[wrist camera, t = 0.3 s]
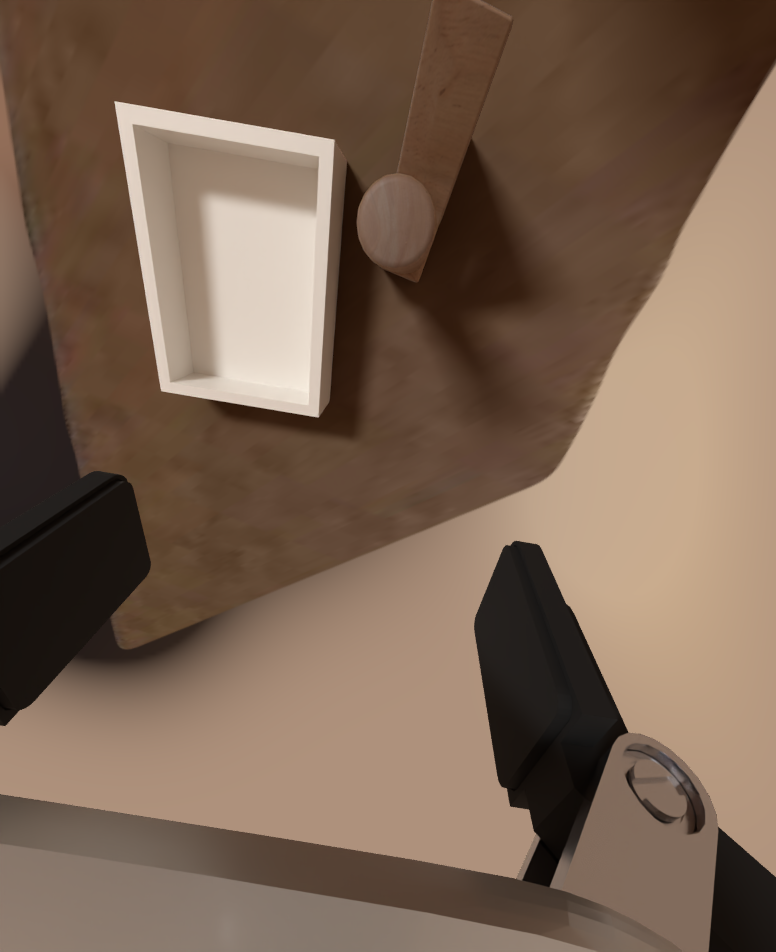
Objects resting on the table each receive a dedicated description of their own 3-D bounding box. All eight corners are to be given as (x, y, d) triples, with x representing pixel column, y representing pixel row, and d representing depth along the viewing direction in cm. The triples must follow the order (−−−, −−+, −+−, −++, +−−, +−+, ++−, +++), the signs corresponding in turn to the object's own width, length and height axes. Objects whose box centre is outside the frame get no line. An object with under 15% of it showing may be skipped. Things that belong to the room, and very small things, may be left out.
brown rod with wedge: (471, 133, 27) (544, -62, 12) (418, 283, 33) (418, 288, 17) (427, 112, 27) (440, -119, 11) (380, 267, 32) (344, 256, 16)
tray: (160, 128, 29) (114, 101, 24) (347, 160, 29) (334, 139, 24) (190, 378, 38) (161, 391, 34) (329, 401, 38) (318, 417, 34)
